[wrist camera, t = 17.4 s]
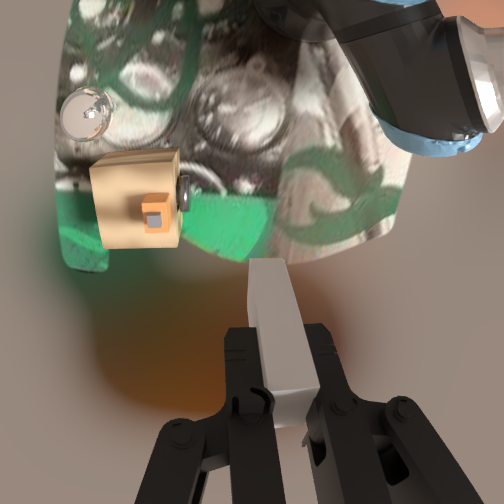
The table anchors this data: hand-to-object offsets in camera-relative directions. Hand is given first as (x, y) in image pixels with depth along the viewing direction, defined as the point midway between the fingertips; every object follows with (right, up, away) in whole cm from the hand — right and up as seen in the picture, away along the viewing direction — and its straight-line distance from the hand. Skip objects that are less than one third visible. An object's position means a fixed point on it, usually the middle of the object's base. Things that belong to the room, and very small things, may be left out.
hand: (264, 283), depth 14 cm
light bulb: (-21, +22, +23) cm, 38 cm away
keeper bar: (-12, +7, +24) cm, 28 cm away
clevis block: (-17, +11, +30) cm, 36 cm away
